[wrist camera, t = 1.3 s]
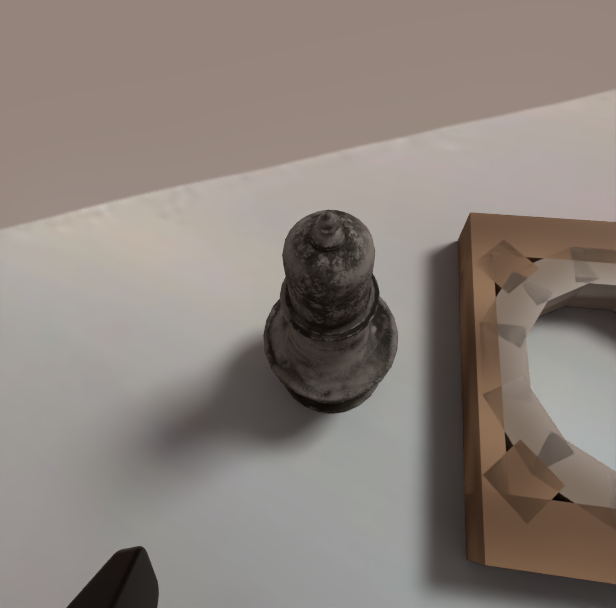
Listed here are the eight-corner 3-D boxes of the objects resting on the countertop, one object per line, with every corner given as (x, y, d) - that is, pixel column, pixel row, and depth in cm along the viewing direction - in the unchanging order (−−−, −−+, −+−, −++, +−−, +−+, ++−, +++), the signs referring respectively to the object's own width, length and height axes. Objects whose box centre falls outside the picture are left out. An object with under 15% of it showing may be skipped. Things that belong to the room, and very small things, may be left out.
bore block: (813, 609, 17) (886, 623, 15) (466, 559, 18) (485, 565, 16) (703, 257, 24) (742, 230, 22) (458, 239, 25) (470, 212, 23)
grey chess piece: (251, 382, 22) (172, 252, 11) (309, 291, 24) (289, 109, 13) (356, 442, 21) (380, 357, 10) (408, 339, 23) (475, 177, 12)
